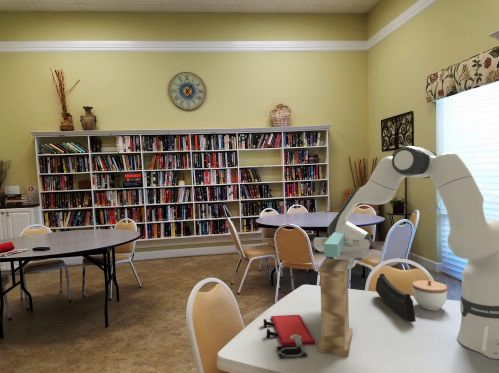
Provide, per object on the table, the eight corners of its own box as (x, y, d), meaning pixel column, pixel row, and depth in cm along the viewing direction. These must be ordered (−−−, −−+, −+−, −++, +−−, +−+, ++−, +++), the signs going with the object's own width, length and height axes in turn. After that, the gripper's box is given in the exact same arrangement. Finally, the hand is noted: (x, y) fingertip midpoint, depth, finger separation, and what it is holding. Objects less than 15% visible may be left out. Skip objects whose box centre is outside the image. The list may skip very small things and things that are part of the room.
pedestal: (352, 334, 115) (350, 259, 114) (348, 356, 101) (346, 271, 100) (326, 330, 118) (324, 258, 117) (318, 351, 104) (316, 269, 104)
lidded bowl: (406, 306, 138) (406, 279, 137) (421, 299, 145) (421, 273, 145) (438, 315, 127) (438, 287, 127) (453, 307, 135) (452, 280, 135)
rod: (345, 243, 122) (345, 232, 122) (337, 257, 102) (337, 244, 102) (334, 242, 124) (334, 232, 124) (324, 256, 104) (324, 243, 103)
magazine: (418, 303, 118) (385, 259, 146) (409, 303, 118) (378, 259, 146) (412, 341, 123) (382, 292, 151) (404, 342, 123) (374, 292, 151)
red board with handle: (273, 360, 100) (322, 357, 101) (273, 351, 100) (322, 348, 101) (261, 320, 130) (299, 318, 131) (261, 312, 130) (299, 311, 131)
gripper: (317, 241, 137) (310, 229, 125) (369, 243, 129) (368, 230, 118) (316, 256, 134) (309, 245, 123) (369, 259, 126) (368, 247, 115)
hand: (338, 238), depth 120 cm, fingers closed on rod, 4 cm apart
